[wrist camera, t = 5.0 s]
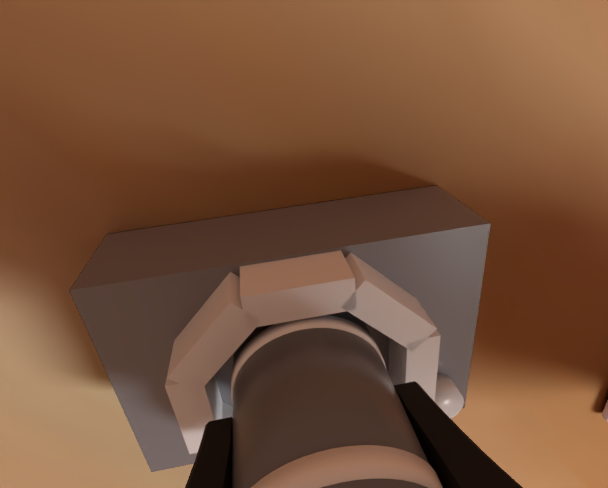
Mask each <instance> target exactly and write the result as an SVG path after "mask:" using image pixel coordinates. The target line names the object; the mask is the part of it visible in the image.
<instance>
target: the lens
mask: <svg viewBox="0 0 608 488" xmlns="http://www.w3.org/2000/svg"><path fill="white" fill-rule="evenodd" d="M231 400H232V405H233V427H232V488H443V487H442V485H441V482H440V480H439V478H438V476H437V474H436V472H435V471H434V469H433V468H432V467H431V466H430V464H429V462H428V460H427V458H426V455H425V453H424V451H423V449H422V447H421V444H420V442H419V440H418V438H417V436H416V433H415V431H414V429H413V427H412V425H411V422H410V420H409V418H408V416H407V414H406V412H405V409H404V407H403V405H402V403H401V401H400V398H399V396H398V394H397V392H396V390H395V387H394V385H393V383H392V381H391V379H390V376H389V374H388V372H387V370H386V366H385V362H384V359H383V357H382V355H381V353H380V350H379V348H378V346H377V344H376V342H375V341H374V339H373V338H372V336H371V335H370V333H369V330H368V328H367V326H366V324H365V322H364V321H362V320H360V319H359V318H357V317H356V316H354V315H352V314H351V313H349V312H347V311H346V312H340V313H334V314H329V315H323V316H317V317H312V318H306V319H300V320H295V321H289V322H283V323H277V324H272V325H266V326H260V327H256V328H255V329H254V331H253V332H252V333H251V334H250V335H249V336H248V337H247V338H246V340H245V341H244V342H243V343H242V344H241V345H240V346H239V348H238V349H237V350H236V351H235V352H234V353H233V370H232V375H231Z"/></svg>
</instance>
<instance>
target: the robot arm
mask: <svg viewBox="0 0 608 488" xmlns="http://www.w3.org/2000/svg"><path fill="white" fill-rule="evenodd" d="M394 387H395V390H396V392H397V394H398V396H399V398H400V401H401V403H402V405H403V407H404V409H405V412H406V414H407V416H408V418H409V420H410V422H411V425H412V427H413V429H414V431H415V433H416V436H417V438H418V440H419V442H420V444H421V447H422V449H423V451H424V453H425V455H426V458H427V460H428V462H429V464H430V466H431V467H432V468H433V469H434V471H435V472H436V474H437V476H438V478H439V480H440V482H441V485H442V487H443V488H523V487H521V486H520V485H519V484H518V483H517V482H516V481H515V480H514V479H512V478H511V477H510V476H509V475H508V474H507V473H506V472H505V471H504V470H502V469H501V468H500V467H499V466H498V465H497V464H496V463H495V462H494V461H493V460H492V459H490V458H489V457H488V456H487V455H486V454H485V453H484V452H483V451H482V450H481V449H480V448H479V447H478V446H477V445H476V444H475V443H474V442H473V441H472V440H471V439H470V438H469V437H468V436H467V435H466V434H465V433H464V432H463V431H462V430H461V429H460V428H459V427H458V426H457V425H456V424H455V423H454V422H453V421H452V420H451V419H450V418H449V417H448V416H447V415H446V414H445V413H444V411H443V410H442V409H441V408H440V407H439V406H438V405H437V404H436V403H435V402H434V401H433V399H432V398H431V397H430V396H429V395H428V394H427V393H426V392H425V391H424V389H423V388H422V387H421V386H420V385H419V384H418V383H417V382H415V381H413V382H408V383H403V384H398V385H394ZM602 416H603V418H604V419H605V420H606V421H607V422H608V400H607V403H606V405H605V408H604V410H603V413H602ZM232 427H233V419H232V417H229V418H224V419H218V420H213V421H209V422H208V423H207V424H206V425H205V429H204V433H203V436H202V440H201V443H200V446H199V450H198V453H197V456H196V459H195V462H194V465H193V467H192V470H191V473H190V476H189V479H188V482H187V484H186V487H185V488H232Z"/></svg>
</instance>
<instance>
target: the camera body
mask: <svg viewBox="0 0 608 488" xmlns="http://www.w3.org/2000/svg"><path fill="white" fill-rule="evenodd" d="M490 226H491V223H490V222H488V221H487V220H485V219H484V218H483V217H481V216H480V215H478V214H477V213H476V212H474V211H473V210H471V209H470V208H469V207H467V206H466V205H464V204H463V203H461V202H460V201H459V200H457V199H456V198H454V197H453V196H452V195H450V194H449V193H447V192H446V191H445V190H443V189H442V188H440V187H439V186H438V185H436V186H429V187H423V188H416V189H409V190H402V191H396V192H389V193H382V194H375V195H368V196H362V197H355V198H348V199H341V200H335V201H328V202H321V203H314V204H308V205H301V206H294V207H287V208H281V209H274V210H267V211H260V212H254V213H247V214H240V215H233V216H226V217H220V218H213V219H206V220H199V221H193V222H186V223H179V224H172V225H166V226H159V227H152V228H145V229H139V230H132V231H125V232H118V233H111V234H106V236H105V237H104V239H103V240H102V242H101V243H100V245H99V246H98V248H97V249H96V251H95V252H94V254H93V255H92V257H91V258H90V260H89V261H88V263H87V264H86V266H85V267H84V269H83V270H82V272H81V273H80V275H79V276H78V278H77V279H76V281H75V282H74V284H73V285H72V287H71V288H70V290H69V292H70V294H71V296H72V298H73V301H74V303H75V305H76V307H77V309H78V312H79V314H80V316H81V318H82V320H83V322H84V325H85V327H86V329H87V331H88V333H89V336H90V338H91V340H92V342H93V344H94V347H95V349H96V351H97V353H98V355H99V358H100V360H101V362H102V364H103V366H104V369H105V371H106V373H107V375H108V377H109V380H110V382H111V384H112V386H113V388H114V391H115V393H116V395H117V397H118V399H119V402H120V404H121V406H122V408H123V410H124V413H125V415H126V417H127V419H128V421H129V424H130V426H131V428H132V430H133V432H134V435H135V437H136V439H137V441H138V443H139V446H140V448H141V450H142V452H143V454H144V457H145V459H146V461H147V463H148V465H149V468H150V470H151V472H154V471H159V470H164V469H169V468H174V467H179V466H184V465H188V464H193V463H194V462H195V459H196V456H197V453H198V450H199V446H200V443H201V440H202V436H203V433H204V429H205V425H206V424H207V423H208V422H209V421H213V420H218V419H224V418H229V417H232V419H233V405H232V400H231V375H232V370H233V353H234V352H235V351H236V350H237V349H238V348H239V346H240V345H241V344H242V343H243V342H244V341H245V340H246V338H247V337H248V336H249V335H250V334H251V333H252V332H253V331H254V329H255V328H256V327H260V326H266V325H272V324H277V323H283V322H289V321H295V320H300V319H306V318H312V317H317V316H323V315H329V314H334V313H340V312H346V311H347V312H349V313H351V314H352V315H354V316H356V317H357V318H359V319H360V320H362V321H364V322H365V324H366V326H367V328H368V330H369V333H370V335H371V336H372V338H373V339H374V341H375V342H376V344H377V346H378V348H379V350H380V353H381V355H382V357H383V359H384V362H385V366H386V370H387V372H388V374H389V376H390V379H391V381H392V383H393V385H398V384H403V383H408V382H413V381H415V382H417V383H418V384H419V385H420V386H421V387H422V388H423V389H424V391H425V392H426V393H427V394H428V395H429V396H430V397H431V398H432V399H433V401H434V402H435V403H436V404H437V405H438V406H439V407H440V408H441V409H442V410H443V411H444V413H445V414H446V415H447V416H448V417H449V418H450V419H451V418H453V417H454V416H455V415H457V414H458V413H459V412H460V410H461V409H462V408H464V407H465V400H466V393H467V386H468V379H469V372H470V365H471V358H472V351H473V344H474V337H475V330H476V323H477V316H478V309H479V302H480V295H481V288H482V281H483V274H484V268H485V261H486V254H487V247H488V240H489V233H490Z"/></svg>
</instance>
